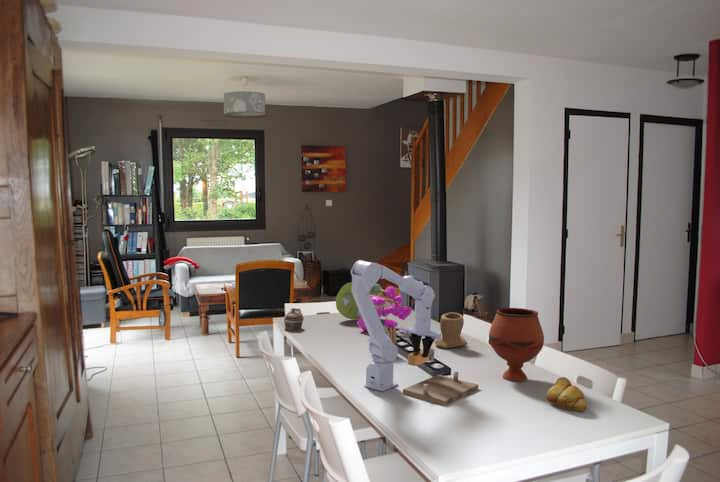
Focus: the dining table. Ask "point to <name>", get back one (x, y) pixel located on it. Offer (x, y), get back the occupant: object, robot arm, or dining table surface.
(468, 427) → the dining table surface
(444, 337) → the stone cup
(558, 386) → the bread roll
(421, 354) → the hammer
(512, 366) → the goblet
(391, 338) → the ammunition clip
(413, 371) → the dining table surface
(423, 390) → the walnut board
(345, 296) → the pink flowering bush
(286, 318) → the cupcake
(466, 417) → the dining table surface
